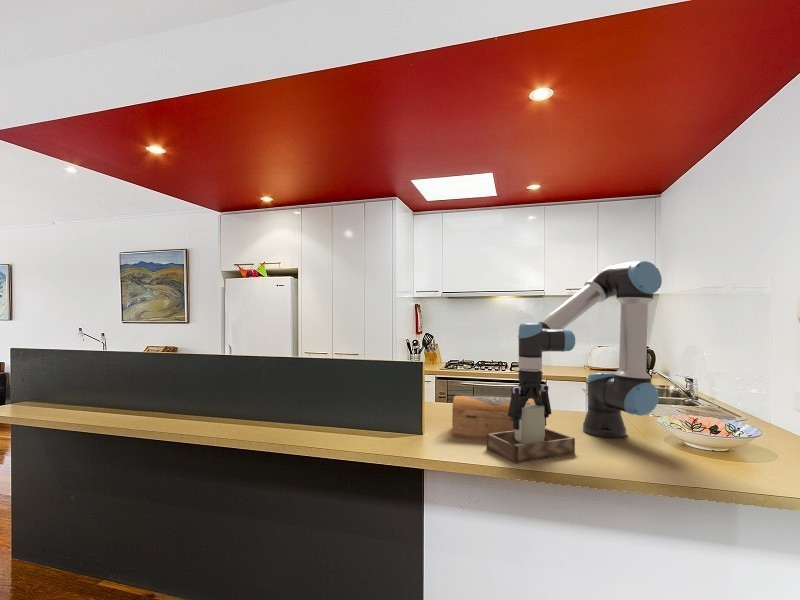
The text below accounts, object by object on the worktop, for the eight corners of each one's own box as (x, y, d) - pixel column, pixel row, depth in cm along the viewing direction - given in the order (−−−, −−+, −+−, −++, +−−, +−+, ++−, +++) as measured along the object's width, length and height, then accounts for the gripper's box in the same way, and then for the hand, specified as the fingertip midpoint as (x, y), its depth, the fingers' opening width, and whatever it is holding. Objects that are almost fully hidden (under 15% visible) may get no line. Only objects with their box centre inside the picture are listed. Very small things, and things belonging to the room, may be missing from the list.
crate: (542, 440, 153) (542, 426, 153) (574, 453, 140) (574, 438, 140) (486, 448, 144) (486, 433, 144) (515, 463, 130) (515, 446, 130)
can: (538, 436, 146) (538, 401, 147) (549, 444, 137) (549, 407, 138) (512, 436, 146) (512, 401, 146) (520, 444, 137) (520, 407, 137)
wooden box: (532, 430, 167) (532, 395, 168) (536, 443, 151) (536, 403, 152) (455, 425, 174) (455, 391, 174) (451, 437, 158) (451, 399, 158)
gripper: (547, 366, 150) (547, 431, 150) (496, 369, 142) (496, 438, 141) (563, 369, 143) (563, 437, 143) (510, 372, 135) (510, 444, 134)
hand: (529, 437), depth 142 cm, fingers closed on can, 9 cm apart
